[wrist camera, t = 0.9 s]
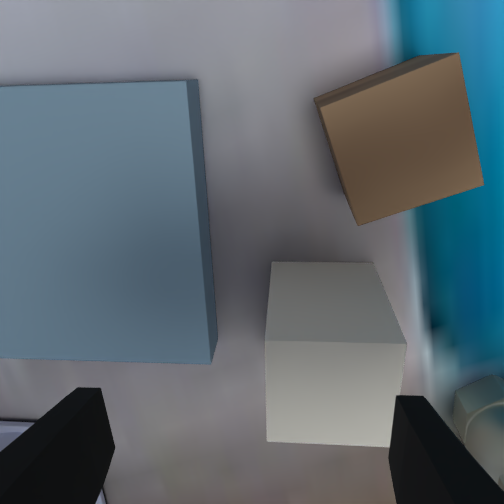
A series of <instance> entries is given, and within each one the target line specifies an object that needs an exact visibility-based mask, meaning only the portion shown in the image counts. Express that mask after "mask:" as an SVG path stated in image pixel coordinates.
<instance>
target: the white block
mask: <svg viewBox="0 0 504 504" xmlns="http://www.w3.org/2000/svg"><path fill="white" fill-rule="evenodd" d="M406 348H407V342H406V340H405V338H404V335H403V333H402V331H401V328H400V326H399V323H398V321H397V319H396V316H395V314H394V311H393V309H392V307H391V304H390V302H389V300H388V297H387V295H386V292H385V290H384V288H383V285H382V283H381V281H380V278H379V276H378V273H377V271H376V269H375V266H374V264H373V263H367V262H272V266H271V277H270V287H269V298H268V309H267V319H266V330H265V383H266V427H267V442H288V443H310V444H331V445H353V446H375V447H390V441H391V432H392V424H393V416H394V407H395V399H396V395H400V390H401V383H402V376H403V369H404V362H405V355H406Z"/></svg>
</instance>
